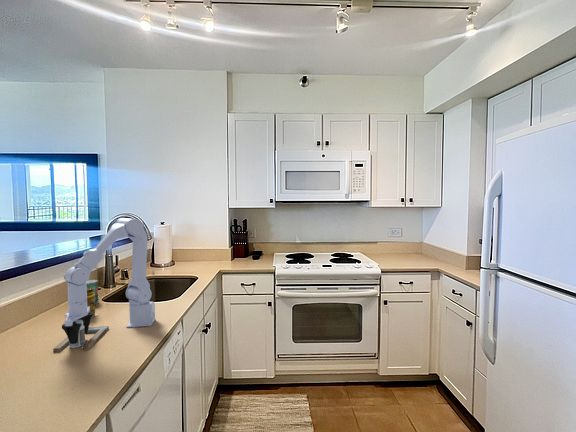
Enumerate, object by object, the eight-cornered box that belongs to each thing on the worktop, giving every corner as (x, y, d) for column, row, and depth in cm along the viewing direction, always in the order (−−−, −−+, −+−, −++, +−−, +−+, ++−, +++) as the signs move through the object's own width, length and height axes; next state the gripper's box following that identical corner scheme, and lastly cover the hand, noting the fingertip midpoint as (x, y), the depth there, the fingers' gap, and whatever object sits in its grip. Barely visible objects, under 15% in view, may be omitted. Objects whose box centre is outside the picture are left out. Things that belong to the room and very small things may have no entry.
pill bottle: (82, 340, 119) (81, 318, 118) (87, 344, 116) (86, 321, 115) (67, 345, 115) (66, 322, 114) (72, 349, 112) (71, 325, 112)
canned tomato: (75, 305, 159) (75, 282, 158) (89, 300, 166) (89, 279, 166) (88, 306, 157) (87, 284, 156) (102, 301, 164) (101, 280, 163)
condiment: (99, 314, 146) (99, 288, 146) (81, 320, 138) (80, 293, 138) (88, 312, 149) (88, 286, 148) (70, 318, 141) (69, 291, 141)
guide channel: (105, 332, 127) (105, 328, 127) (88, 349, 112) (88, 346, 112) (74, 333, 125) (74, 330, 125) (53, 352, 110) (53, 348, 110)
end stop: (108, 329, 130) (108, 326, 129) (105, 332, 127) (105, 328, 127) (78, 330, 128) (78, 327, 128) (74, 333, 125) (74, 330, 125)
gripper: (75, 295, 122) (76, 331, 123) (54, 308, 108) (55, 348, 109) (95, 294, 123) (96, 329, 124) (77, 307, 109) (78, 346, 110)
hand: (79, 338), depth 116 cm, fingers open, 7 cm apart
